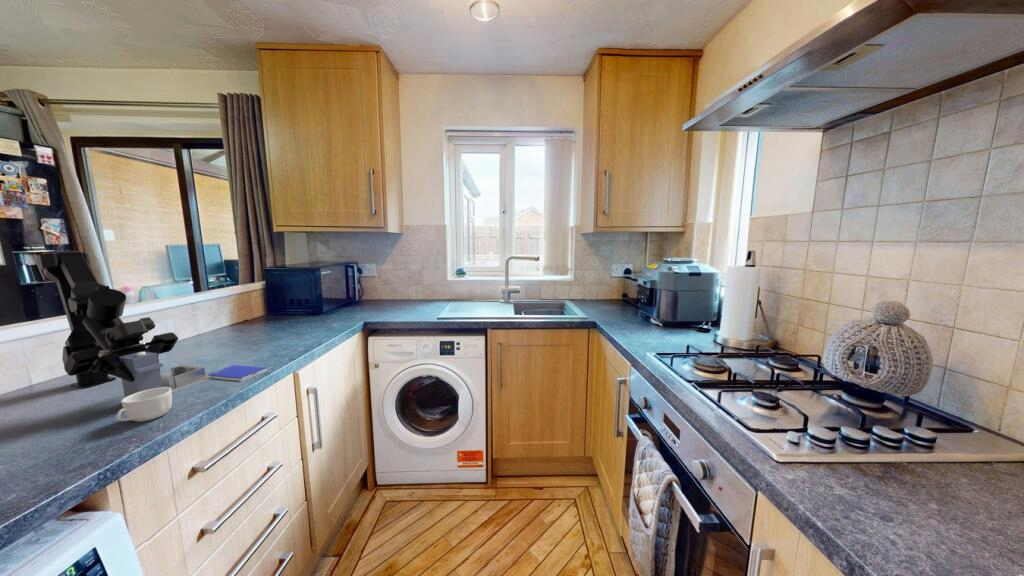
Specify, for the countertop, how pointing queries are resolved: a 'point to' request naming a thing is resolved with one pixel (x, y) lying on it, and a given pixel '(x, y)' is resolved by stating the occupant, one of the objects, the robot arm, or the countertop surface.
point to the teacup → (146, 404)
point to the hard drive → (238, 372)
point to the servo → (141, 372)
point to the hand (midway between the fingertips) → (146, 376)
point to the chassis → (185, 377)
